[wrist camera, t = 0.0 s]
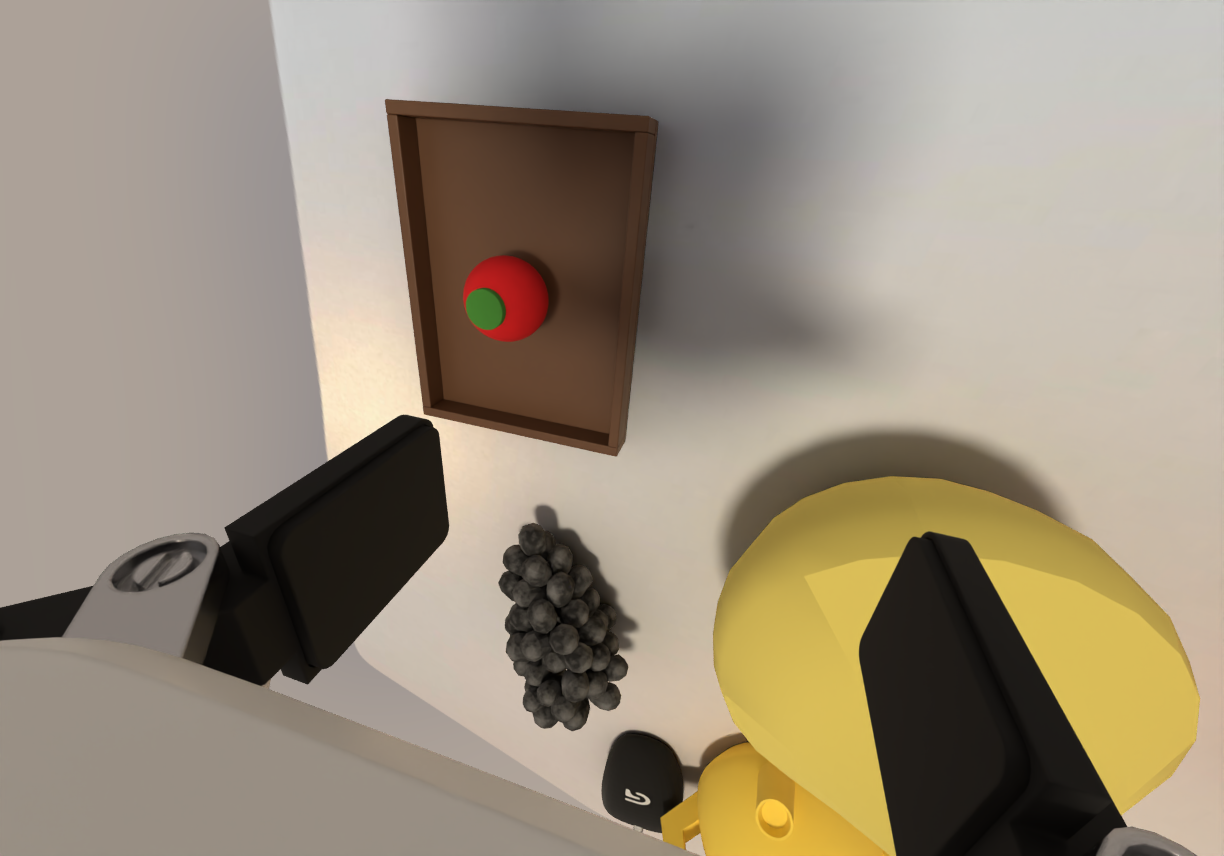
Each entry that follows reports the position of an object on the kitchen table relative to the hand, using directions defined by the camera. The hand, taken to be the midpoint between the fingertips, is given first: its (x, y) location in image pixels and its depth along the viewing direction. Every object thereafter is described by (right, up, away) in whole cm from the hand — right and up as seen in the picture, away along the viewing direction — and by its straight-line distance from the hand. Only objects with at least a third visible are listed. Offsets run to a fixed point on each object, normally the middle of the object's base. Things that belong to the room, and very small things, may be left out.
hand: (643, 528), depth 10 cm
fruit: (-3, -10, +28) cm, 30 cm away
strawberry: (-6, +10, +18) cm, 21 cm away
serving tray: (-5, +10, +18) cm, 21 cm away
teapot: (+14, -27, +31) cm, 43 cm away
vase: (+16, -6, +20) cm, 26 cm away
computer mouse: (+3, -31, +37) cm, 48 cm away
